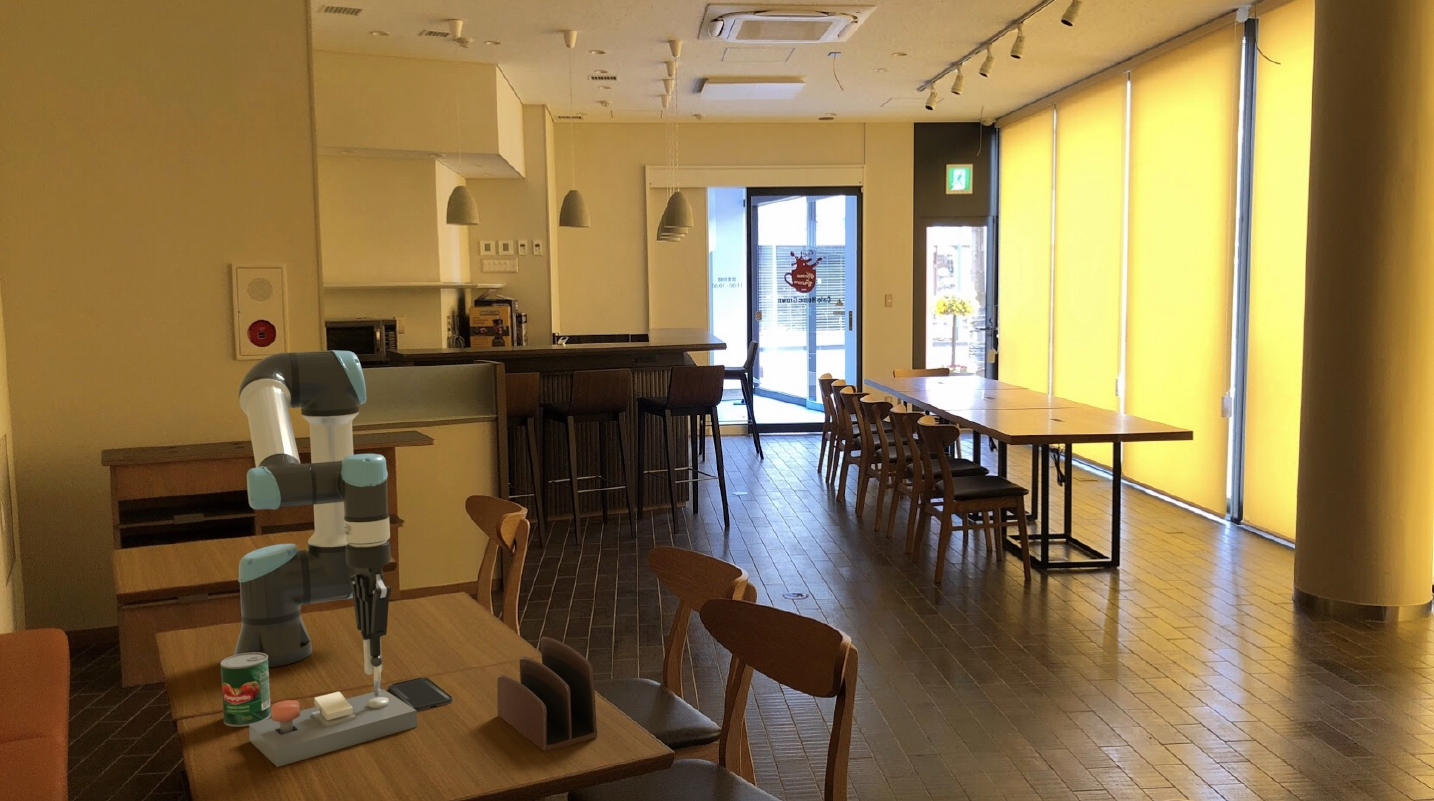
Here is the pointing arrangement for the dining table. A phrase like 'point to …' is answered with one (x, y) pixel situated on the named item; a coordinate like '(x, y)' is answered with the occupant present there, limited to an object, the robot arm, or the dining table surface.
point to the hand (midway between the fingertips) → (373, 671)
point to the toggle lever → (377, 674)
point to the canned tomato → (245, 689)
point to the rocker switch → (333, 705)
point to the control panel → (333, 728)
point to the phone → (420, 693)
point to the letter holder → (551, 698)
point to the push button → (285, 714)
